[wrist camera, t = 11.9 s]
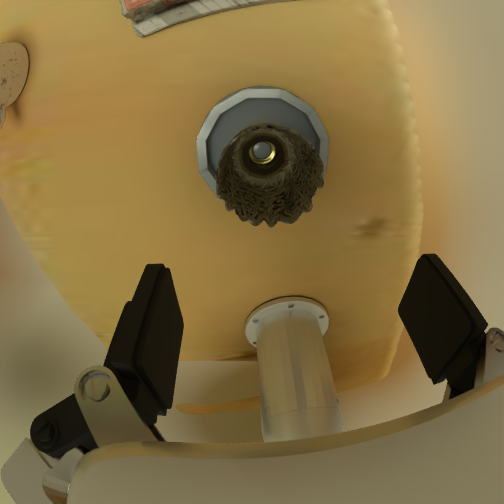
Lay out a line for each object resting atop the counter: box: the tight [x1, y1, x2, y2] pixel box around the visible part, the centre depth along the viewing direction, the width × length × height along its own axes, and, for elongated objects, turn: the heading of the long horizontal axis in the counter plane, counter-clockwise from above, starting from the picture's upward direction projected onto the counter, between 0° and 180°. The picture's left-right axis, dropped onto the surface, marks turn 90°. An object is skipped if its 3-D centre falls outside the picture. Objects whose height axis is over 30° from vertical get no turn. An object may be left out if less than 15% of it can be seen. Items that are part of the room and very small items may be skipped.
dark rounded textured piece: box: [215, 123, 324, 227], centre depth 21 cm, size 8×7×8 cm
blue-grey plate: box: [196, 86, 329, 201], centre depth 24 cm, size 12×12×2 cm
